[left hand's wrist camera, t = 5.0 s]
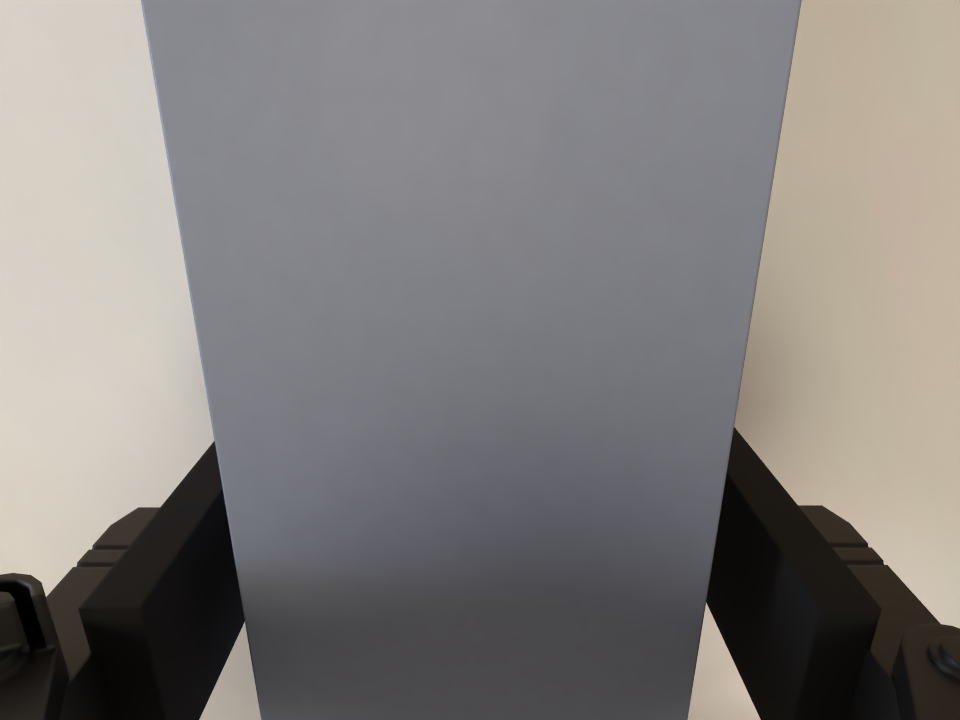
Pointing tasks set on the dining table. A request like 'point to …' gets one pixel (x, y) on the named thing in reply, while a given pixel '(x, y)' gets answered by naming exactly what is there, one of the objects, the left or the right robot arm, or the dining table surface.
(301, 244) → the cabinet
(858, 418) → the dining table surface
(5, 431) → the dining table surface
